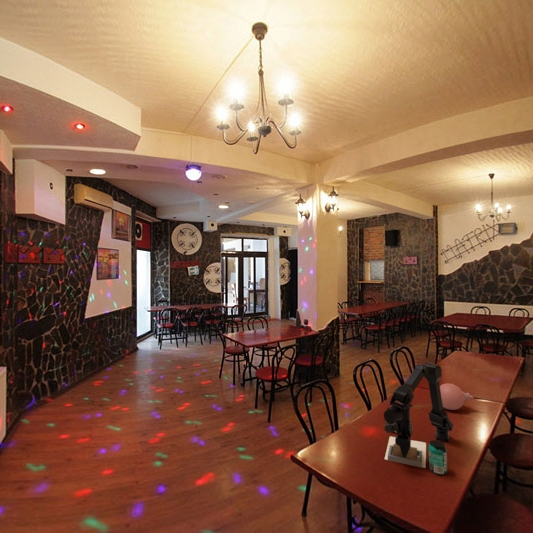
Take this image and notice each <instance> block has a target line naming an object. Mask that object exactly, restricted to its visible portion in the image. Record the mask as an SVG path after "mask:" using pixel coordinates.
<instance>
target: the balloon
mask: <svg viewBox="0 0 533 533" xmlns="http://www.w3.org/2000/svg"><path fill="white" fill-rule="evenodd" d="M440 391H441V398H442V404H443V409H446V410H450V411H457V410H460V409H461V408H462V407H463V406H464V403H465V401H470V399H474V396H472V395H471V394H470V393H469V392H465V391H462V389H461V388H460V387H459V386H457V385H455V384H454V383H449V382H447V383H443V384H442V383H441V385H440Z"/></svg>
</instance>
